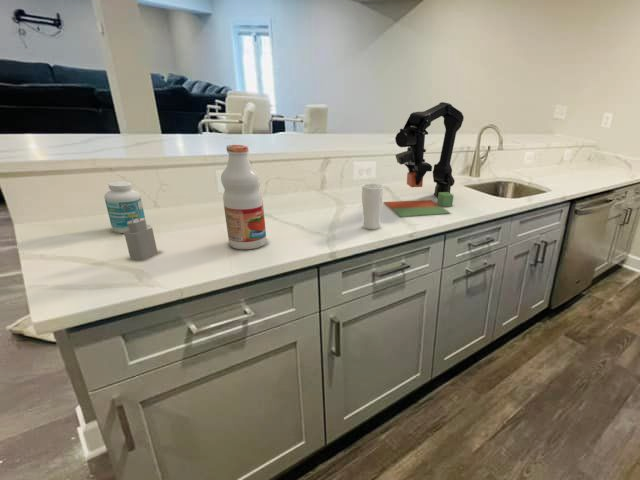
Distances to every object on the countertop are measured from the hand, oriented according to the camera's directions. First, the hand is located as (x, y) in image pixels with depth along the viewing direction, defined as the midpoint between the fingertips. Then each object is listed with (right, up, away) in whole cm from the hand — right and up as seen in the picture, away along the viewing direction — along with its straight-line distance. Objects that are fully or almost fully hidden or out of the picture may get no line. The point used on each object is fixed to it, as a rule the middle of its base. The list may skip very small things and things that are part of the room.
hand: (414, 183), depth 162 cm
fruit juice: (-40, -26, -50) cm, 69 cm away
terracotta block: (0, -1, 0) cm, 1 cm away
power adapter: (-58, -30, -64) cm, 92 cm away
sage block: (+12, -8, +10) cm, 18 cm away
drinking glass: (-11, -20, -26) cm, 35 cm away
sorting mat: (+1, -11, 0) cm, 11 cm away
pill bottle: (-73, -22, -52) cm, 92 cm away
